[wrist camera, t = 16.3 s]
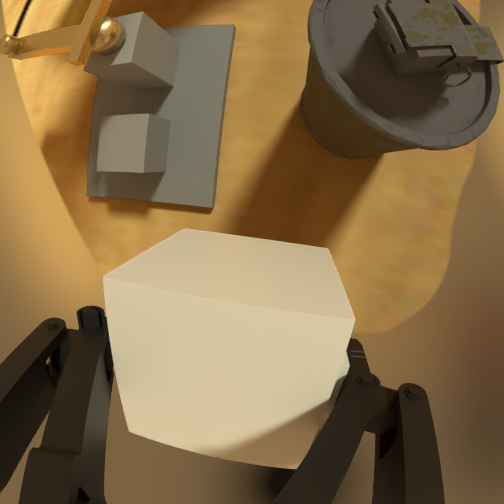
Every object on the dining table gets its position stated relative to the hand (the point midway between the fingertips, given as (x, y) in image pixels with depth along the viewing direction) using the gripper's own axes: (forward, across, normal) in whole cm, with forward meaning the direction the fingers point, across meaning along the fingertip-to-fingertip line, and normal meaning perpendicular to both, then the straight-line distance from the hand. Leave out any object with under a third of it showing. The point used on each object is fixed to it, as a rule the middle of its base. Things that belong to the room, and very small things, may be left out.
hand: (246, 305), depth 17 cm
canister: (+15, +7, +15) cm, 22 cm away
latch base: (+14, -14, +13) cm, 24 cm away
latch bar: (+4, -20, +19) cm, 28 cm away
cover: (0, 0, 0) cm, 0 cm away
